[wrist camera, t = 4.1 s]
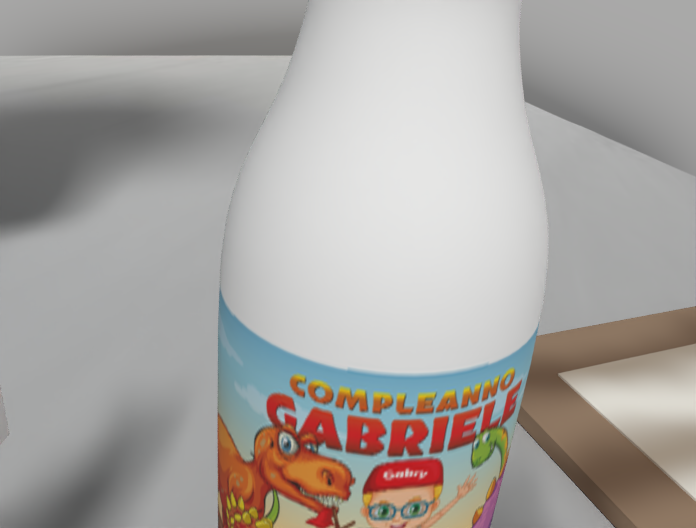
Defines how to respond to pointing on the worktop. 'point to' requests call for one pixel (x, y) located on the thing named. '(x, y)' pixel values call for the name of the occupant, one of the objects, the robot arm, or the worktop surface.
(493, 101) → the milk bottle
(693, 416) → the writing board
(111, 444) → the worktop surface
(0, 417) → the robot arm
